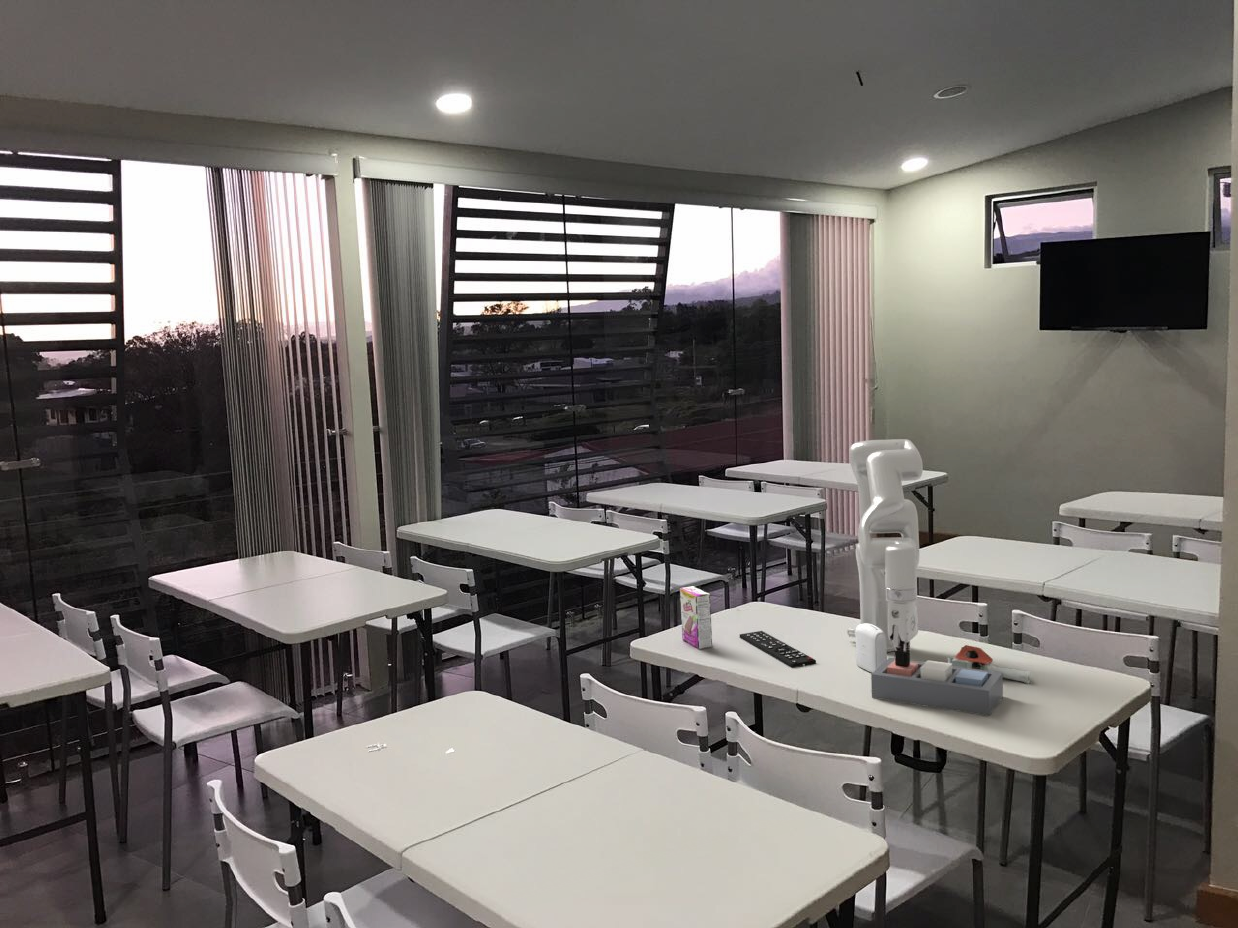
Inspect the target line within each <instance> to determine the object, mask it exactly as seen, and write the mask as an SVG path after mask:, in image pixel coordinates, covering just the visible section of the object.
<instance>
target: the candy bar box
mask: <svg viewBox="0 0 1238 928" xmlns="http://www.w3.org/2000/svg"><path fill="white" fill-rule="evenodd" d="M679 597H680V598H679V601H680V614H681V635H682V640H683V641H684V642H686V643H688V644H689V645H690V646H692V647H694V648H696V649H698V650H703V649H709V648H712V647H713V635H712V614H711V613H712V610H711V594H710V593H709V592H706V591H705V590H702V589H700V588H699V587H696V586H693V585H692V586H691V585H690V586H685V587H680V588H679Z"/></svg>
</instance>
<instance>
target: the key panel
mask: <svg viewBox="0 0 1238 928" xmlns="http://www.w3.org/2000/svg"><path fill="white" fill-rule="evenodd" d="M894 660H895V657H894V658H893V657H889V658H887V660H886V661H885V662H884V663H883V664H882V665H881V666H880V667H879V668H878V669H876V670H875V671H874V672H873V673H872V672H871V675H870V676H871V698H873V699H879V700H886V701H893V702H897V703H898V702H900V703H903V704H904V703H905V704H911V705H919V706H925V707H931V708H938V709H943V710H949V711H954V712H955V711H957V712H961V713H968V714H969V713H970V714H976V715H982V716H988V717H989V716H990V715H991V714H992V712H993V711H994V709H995V708H996V707H997V705H998V704H999V703H1000V701H1001V700H1002V698H1003V696H1004V694H1003V693H1004V688H1003V687H1004V686H1003V685H1004V684H1003V682H1004V680H1003V679H1004V677H1003V673H1001V672H993V671H986V670H980V669H978V668H972V669H971V668H963V667H956V666H952V675H951V677H950V678H949V679H948V680H947V681H946V682H944V681H936V680H929V679H922V678H921V667H922V666H923V665H924V664H925V663H926V662H927V661H925V662H924V661H917V660H916V661H915V660H911V659H910V662H912V663H918V670H917V671H916V672H915V673H914V674H913V675H912V676H911V677H908V676H901V675H894V674H887V667H888V666H889V665H890V664H891V663H892V662H893V661H894ZM962 669H965V670H973V671H980V672H987V673H988V680H987V681H986V683H985V684H984V685H983V686H982V687H979V686H972V685H965V684H958V683H956V676H957V674H958V673H959V672H960V671H961V670H962Z"/></svg>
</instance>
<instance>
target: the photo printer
mask: <svg viewBox="0 0 1238 928" xmlns="http://www.w3.org/2000/svg"><path fill="white" fill-rule="evenodd" d="M854 638H855V658H856V659H855V661H856V662H855V663H856V666H857V667H859V668H861V669H863V670H866V671H868V672H870V673H871V674H872V673H873V672H874V671H875V670H876V669H878V668H879V667H880V666H881V665H882V664H883V663H884V662H885V661H886V660H888V655H887V653H888V652H887V644H886V635H885V633H884V632H883V631H882V630H881V629H880V628H878V627H876V626H875V625H872V624H868V623H864V624H861V623H860V624H858V625H856V628H855V637H854Z"/></svg>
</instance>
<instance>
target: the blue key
mask: <svg viewBox="0 0 1238 928" xmlns="http://www.w3.org/2000/svg"><path fill="white" fill-rule="evenodd" d="M987 680H988V673H987V672H980V671H973V670H965V669H962V670H961V671H960V672H959V673H958V674H957V676H956V683H958V684H965V685H972V686H979V687H982V686H983V685H984V684H985V683H986V681H987Z"/></svg>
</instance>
